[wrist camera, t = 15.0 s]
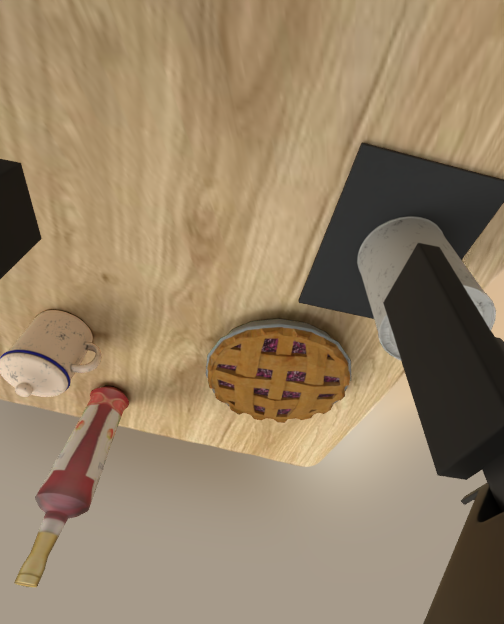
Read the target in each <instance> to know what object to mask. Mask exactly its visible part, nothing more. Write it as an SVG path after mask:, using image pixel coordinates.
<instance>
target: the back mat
mask: <svg viewBox="0 0 504 624" xmlns="http://www.w3.org/2000/svg"><path fill="white" fill-rule="evenodd" d="M503 203H504V180H502V179H498V178H495V177H491V176H487V175H483V174H479V173H476V172H472V171H468V170H464V169H461V168H457V167H453V166H449V165H445V164H442V163H438V162H434V161H430V160H426V159H423V158H419V157H415V156H411V155H407V154H404V153H400V152H396V151H392V150H389V149H385V148H381V147H377V146H373V145H370V144H366V143H361V146H360V148H359V151H358V153H357V156H356V158H355V161H354V163H353V166H352V168H351V171H350V173H349V176H348V178H347V181H346V183H345V186H344V188H343V191H342V193H341V196H340V198H339V201H338V203H337V206H336V208H335V211H334V213H333V216H332V218H331V221H330V223H329V226H328V228H327V231H326V233H325V236H324V238H323V241H322V243H321V246H320V248H319V251H318V253H317V256H316V258H315V261H314V263H313V266H312V268H311V271H310V273H309V276H308V278H307V281H306V283H305V286H304V288H303V291H302V293H301V296H300V298H299V303H303V304H308V305H312V306H317V307H322V308H326V309H331V310H336V311H340V312H345V313H349V314H354V315H359V316H363V317H368V318H372V319H374V316H373V313H372V309H371V306H370V303H369V299H368V296H367V292H366V289H365V286H364V282H363V279H362V275H361V273H360V271H359V268H358V264H357V260H358V253H359V249H360V247H361V245H362V243H363V241H364V240H365V238H366V237H367V236H368V235H369V234H370V233H371V232H372V231H373V230H374V229H376V228H377V227H378V226H380V225H382V224H384V223H386V222H387V221H390V220H393V219H396V218H399V217H407V216H414V217H422V218H425V219H428V220H430V221H432V222H433V223H435V224H436V225H437V226H438V227H439V228H440V230H441V231H442V232H443V235H444V237H445V238H446V239H447V241H448V242H449V244H450V245H451V246H452V248H453V249H454V251H455V252H456V253H457V255H458V256H459V258H460V259H461V260H462V258H463V257H464V256H465V254H466V253H467V252H468V250H469V249H470V248H471V246H472V245H473V243H474V242H475V241H476V239H477V238H478V237H479V235H480V234H481V233H482V231H483V230H484V228H485V227H486V226H487V224H488V223H489V222H490V220H491V219H492V218H493V216H494V215H495V214H496V212H497V211H498V209H499V208H500V207H501V205H502V204H503Z"/></svg>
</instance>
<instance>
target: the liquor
mask: <svg viewBox="0 0 504 624" xmlns="http://www.w3.org/2000/svg"><path fill="white" fill-rule="evenodd" d="M90 398H91V399H90V401H89V403H88V405H87V407H86V409H85V410H84V412H83V414H82V416H81V418H80V420H79V421H78V423H77V425H76V427H75V429H74V430H73V432H72V434H71V436H70V438H69V439H68V441H67V443H66V444H65V446H64V448H63V450H62V451H61V453H60V455H59V456H58V458H57V460H56V461H55V463H54V465H53V467H52V469H51V470H50V472H49V474H48V476H47V478H46V480H45V481H44V483H43V485H42V487H41V488H40V490H39V492H38V494H37V495H36V497H35V498H36V501H37V503H38V505H39V507H40V508H41V509H42V510H43V511H44V512H45V513H46V514H45V516H44V519H43V522H42V524H41V527H40V529H39V532H38V535H37V537H36V540H35V542H34V545H33V548H32V550H31V553H30V555H29V556H28V557H27V559H26V561H25V562H24V564H23V566H22V568H21V569H20V571H19V574H18V576H17V578H16V580H15V583H16V584H18V585H22V586H26V587H37V586H38V584H39V581H40V579H41V577H42V574H43V572H44V570H45V566H46V562H47V558H48V555H49V553H50V552H51V550H52V548H53V546H54V544H55V542H56V540H57V538H58V537H59V535H60V533H61V531H62V529H63V527H64V525H65V523H66V521H67V519H68V518H73V517H77V516H79V515H81V514H83V513H85V512H87V511H88V510H89V507H90V504H91V501H92V498H93V496H94V493H95V490H96V487H97V484H98V482H99V479H100V476H101V473H102V470H103V467H104V464H105V461H106V458H107V455H108V452H109V449H110V446H111V443H112V441H113V438H114V435H115V432H116V429H117V427H118V424H119V421H120V419H121V416H122V413H123V411H124V409H126V408H127V407H128V405H129V401H128V399H127V397H126V396H125V395H124V393H123V392H122V391H121V390H120V389H118V388H115V387H112V386H105V387H101V388H97V389H94V390H92V391H91V393H90Z"/></svg>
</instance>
